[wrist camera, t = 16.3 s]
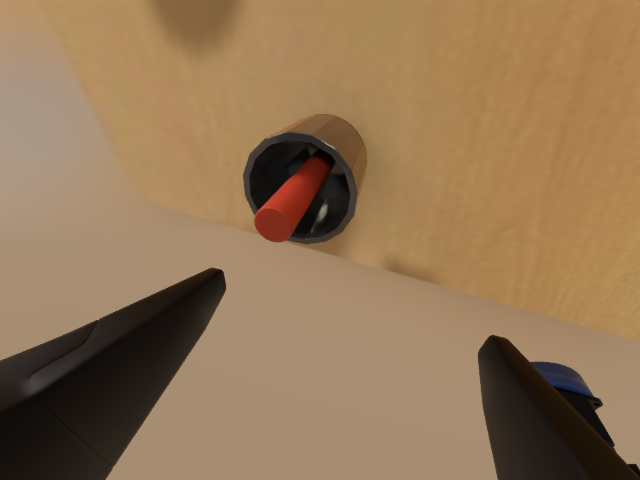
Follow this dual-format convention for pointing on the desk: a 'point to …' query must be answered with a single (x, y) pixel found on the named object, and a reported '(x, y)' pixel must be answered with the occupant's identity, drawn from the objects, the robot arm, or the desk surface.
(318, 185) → the straw
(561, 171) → the desk surface
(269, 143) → the tin
